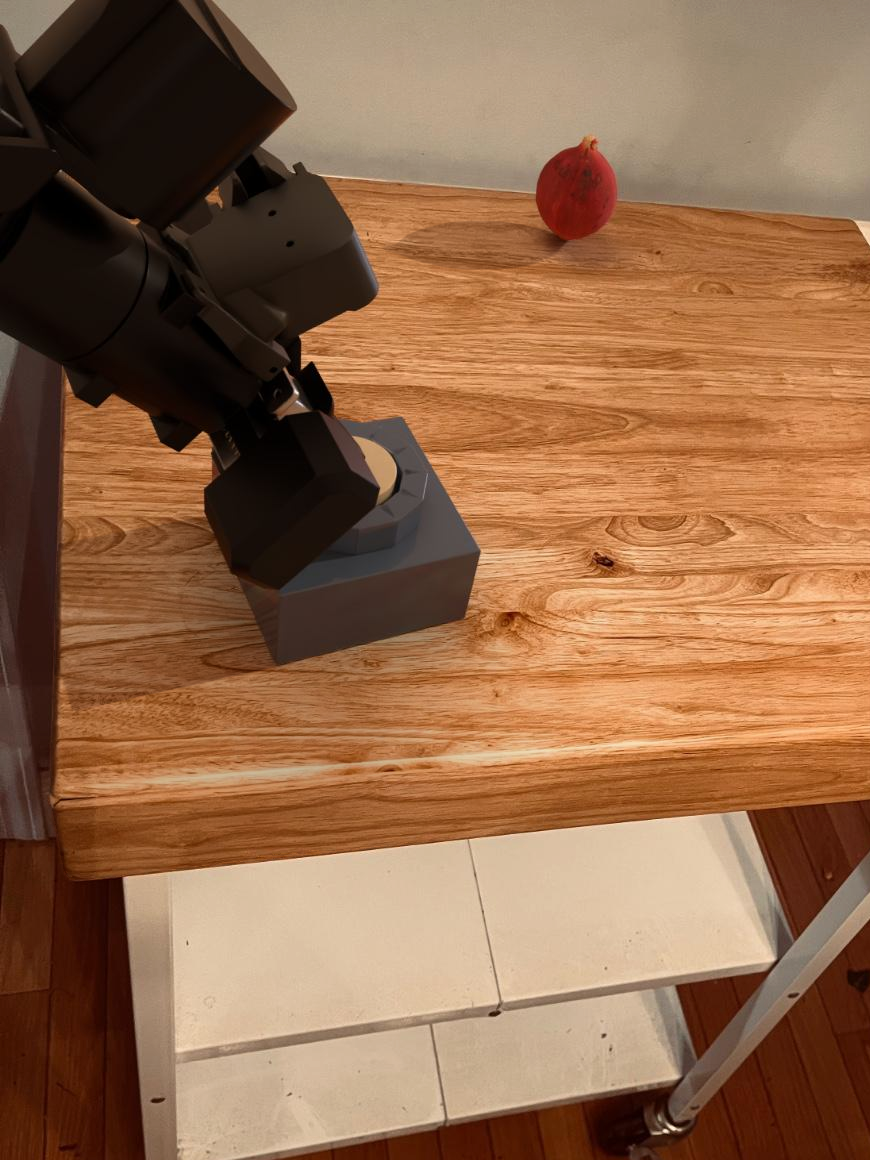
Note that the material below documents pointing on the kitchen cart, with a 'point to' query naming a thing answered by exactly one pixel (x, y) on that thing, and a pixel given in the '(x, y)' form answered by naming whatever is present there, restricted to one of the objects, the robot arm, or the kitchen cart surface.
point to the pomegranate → (577, 191)
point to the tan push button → (379, 468)
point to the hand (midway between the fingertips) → (356, 460)
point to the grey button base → (376, 565)
